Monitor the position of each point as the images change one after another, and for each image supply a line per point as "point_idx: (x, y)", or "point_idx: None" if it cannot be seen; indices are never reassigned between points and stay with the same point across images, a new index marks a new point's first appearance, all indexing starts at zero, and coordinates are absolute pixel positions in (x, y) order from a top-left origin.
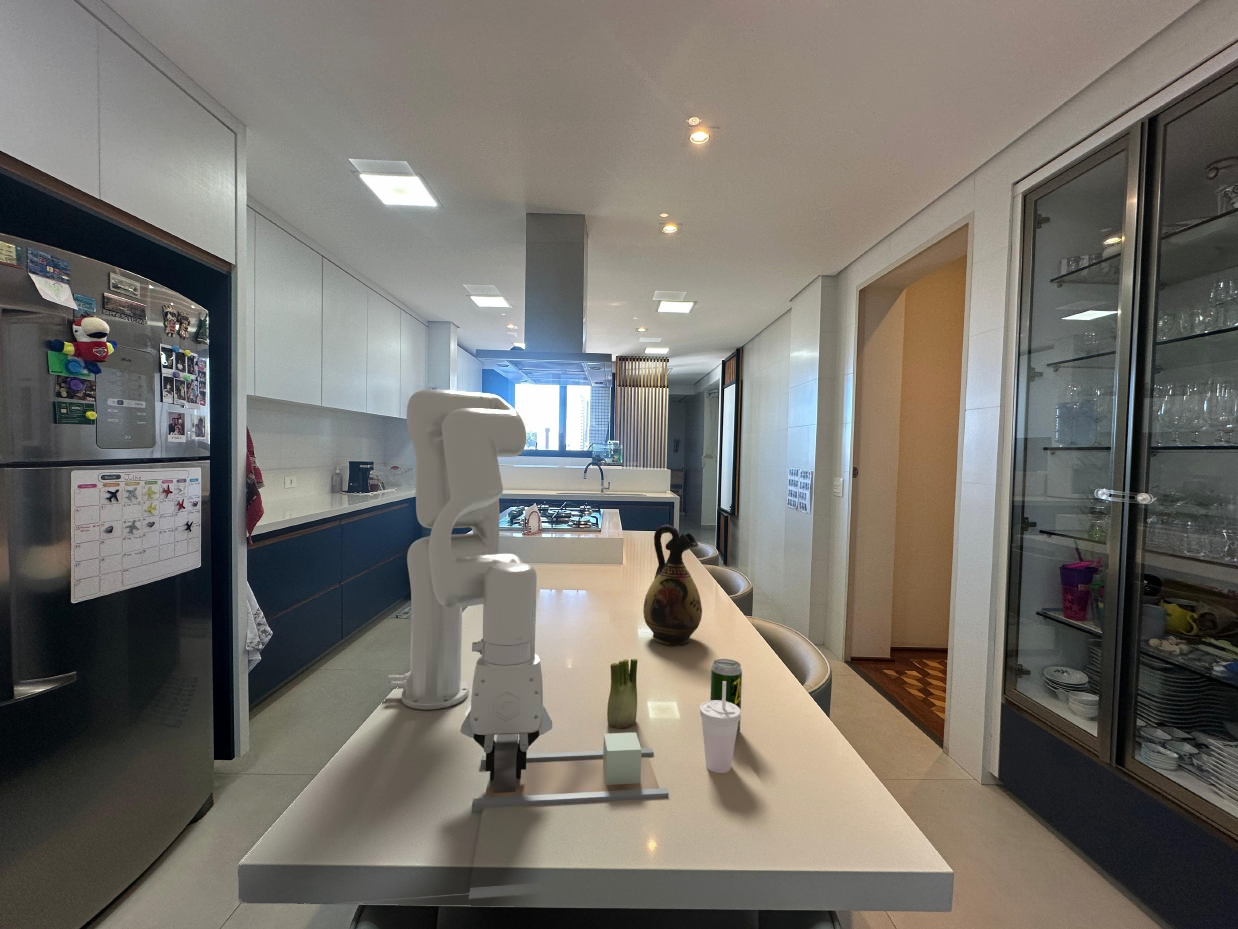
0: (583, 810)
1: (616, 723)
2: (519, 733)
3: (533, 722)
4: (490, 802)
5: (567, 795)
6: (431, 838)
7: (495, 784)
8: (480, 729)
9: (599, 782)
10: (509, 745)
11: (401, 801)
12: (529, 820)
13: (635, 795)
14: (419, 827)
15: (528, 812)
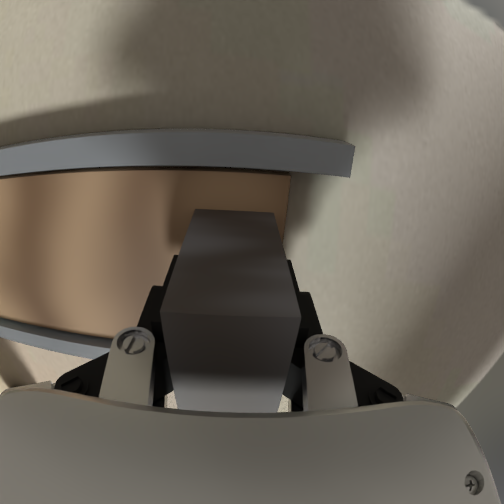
0: (10, 128)
1: None
2: (123, 403)
3: (5, 441)
4: (288, 141)
5: (28, 162)
6: (442, 65)
7: (270, 226)
8: (430, 428)
9: None
10: (209, 356)
11: (484, 236)
12: (147, 74)
13: None
14: (467, 122)
15: (150, 115)
